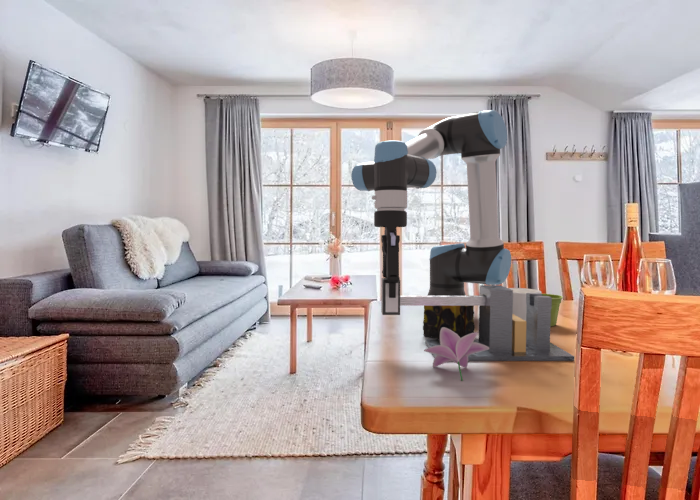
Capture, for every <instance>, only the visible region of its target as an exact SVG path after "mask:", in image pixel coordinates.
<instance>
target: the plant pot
mask: <svg viewBox="0 0 700 500" xmlns="http://www.w3.org/2000/svg"><path fill="white" fill-rule="evenodd" d="M542 294H543V296H549V297H552V308H551V323H550V327H554V326H557V323H558V322H557V321H558V318H559V317H558V316H559V310H560V305H561V303H562V300H563V299H564V297H563V295H559V294H553V293H552V294H551V293H542Z"/></svg>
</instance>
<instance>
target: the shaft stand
mask: <svg viewBox="0 0 700 500" xmlns="http://www.w3.org/2000/svg"><path fill="white" fill-rule="evenodd" d="M508 288H509V287H505V286H503V285H502V284H500V285H486V284H479V295H478V296H487V297H486V306H478V307H479V309H478V310H479V313H478V338H475V340H474V341H473V342H476V343H480V344H483V345H486V346H488V347H489V348H490V349H488V350H485V351H481V352H477V353H474V354H471V355H468V362H470V361H471V362H475V361H477V362H479V361H480V362H481V361H482V362H483V361H485V362H486V361H487V362H501V361H502V362H507V361H509V362H518V361H519V362H526V361H527V362H532V361H533V362H574V361H575V355H573V354H571V353H570V352H568V351H566V350H564V349H563V348H561V347H559V346H557V345H556V344H554V343H552V342H551V326H550V323H551V308H552V297H549V296H543V294H544V293H526V304H527V306H526V352H514V351H512V313H513V290H511V289H508ZM424 341H425V342H424V343H425V345H426V346H427V348H430V347H433V346H437V345H441V344H440V339H434V338H431V339H430V338H425V339H424ZM431 354H432V353H431ZM432 356H433V357H434V359H435V357H436V354H432Z"/></svg>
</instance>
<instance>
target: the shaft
mask: <svg viewBox="0 0 700 500" xmlns="http://www.w3.org/2000/svg"><path fill="white" fill-rule="evenodd" d="M386 279H387V278H383V277H382V278H381V288H380V291H381V293H380V295H381V297H380V298H381V300H380V301H381V305H380V306H381V307H380V308H381V309H380V310H381V314H382V316H400V315H401V307H402V306H405V307H406V306H408V307H410V306H417V307H418V306H420V307H421V306H423V307H424V306H474V307H475V306H476V307H479V306H486V297H487V296H479V295H466V296H427V295H401V280H399V282H398V312H386V283H383V280H386Z"/></svg>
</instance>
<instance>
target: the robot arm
mask: <svg viewBox="0 0 700 500" xmlns="http://www.w3.org/2000/svg"><path fill="white" fill-rule="evenodd" d="M507 141H508V130H507V125H506V123H505V120H504V118H503V116H502V115H501V114H500V112H499V111H497V110H496V109H490V110H480V111H476V112H475V111H474V112H469V113H465V114H460V115H456V116H455V115H454V116H451V117H447V118H445V119H441V120H440V121H438V122H436V123H434V124H432V125H430V126H429V127H426V128H424V129H422V130H421V131H419V134H417V136H416V137H415V138H412V139H410V140H409V141H407V142H406V141H402V140H395V139H393V140H385V141H383V140H382V141H379V142H378V143H376V144H375V146H374V158H373V160H371V161H367V162H366V161H364V162H361V163H358V164H355V165H354V166H353V168H352V170H351V175H350V176H351V182H352V185H353V187H354V188H355V189H356V190H358V191H362V192H363V191H367V192H371V191H373V192H374V195H372V196H371V200H374V209H376V210H375V211H374V213H373V217H374V219H373V225H374V227H375V228H384V234H381V235H380V236H381V239H380V240H381V253H382V271H381V273H382V278H387V279H386V280H383V283H386V312H398V282H399V280H400V279H401V278H400V241H401V238H400V236H401V235H398V233H397V232H398V231H397V230H398V229H397V228H405V227H407V225H408V213H407V212H408V211H406V210H405V209H407V208H408V189H409V188H410V189H411V188H414V189H426V188H427V189H428V188H429V187H431V185H433V184H434V182H435V180H436V178H437V166H436V165H435V164H434V162H433V161H432V160H431V159H433V160H434V159H436V158H439V157H441V156H445V155H454V154H455V155H456V154H457V155H458V154H460V158H461V160H462V161H463V162H464V163H465V164H466V174H467V175H466V176H467V177H466V178H467V194H468V195H467V196H468V217H469V236H470V239H469V240H468V241H467V242H466V243H450V244H442V245H435V246H433V247H431V249H430V252H429V254H430V255H429V259H428V260H429V289H428V292H427V295H426V296H443V295H445V296H467V295H466V292H465V284H466V283H467V284H478V285H502V284H503V283H504V282H506V280H507V278H508V276H509V273H510V272H511V271H510V270H511V266H512V254H511V251H510V250H509V249H508V248H505V246H504V245H505V244H504V243H505V242H504V241H503V240H502V239H501V238H500V236H499V222H498V221H499V219H498V193H497V190H498V189H497V170H496V169H497V168H496V162H497V159H498V158H499V157H500V156H501V150H502V149H503V148H505V147H506V146H507ZM400 281H401V280H400Z"/></svg>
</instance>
